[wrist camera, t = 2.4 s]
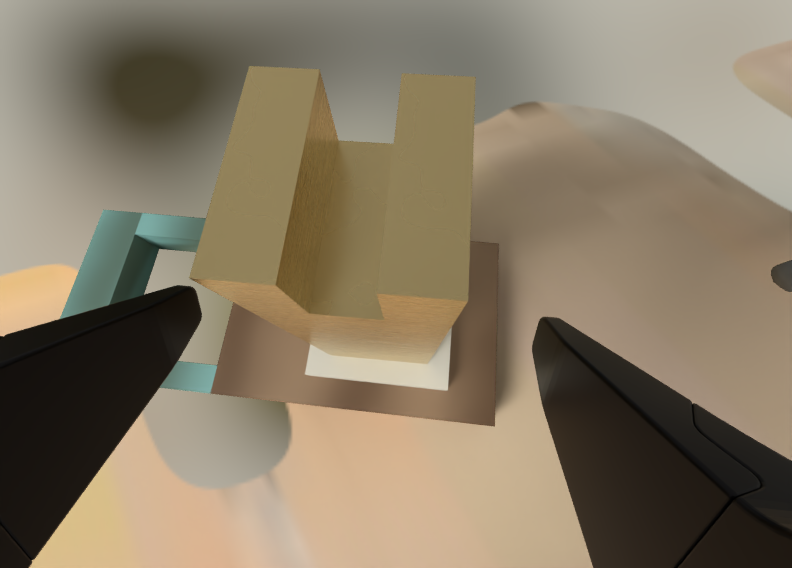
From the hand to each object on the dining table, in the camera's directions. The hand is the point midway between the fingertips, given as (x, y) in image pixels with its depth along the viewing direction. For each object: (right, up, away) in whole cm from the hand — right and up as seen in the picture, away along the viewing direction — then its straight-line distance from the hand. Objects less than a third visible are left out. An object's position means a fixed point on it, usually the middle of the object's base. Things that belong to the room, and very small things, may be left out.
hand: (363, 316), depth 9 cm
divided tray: (-5, -1, +11) cm, 12 cm away
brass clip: (0, -1, +7) cm, 7 cm away
